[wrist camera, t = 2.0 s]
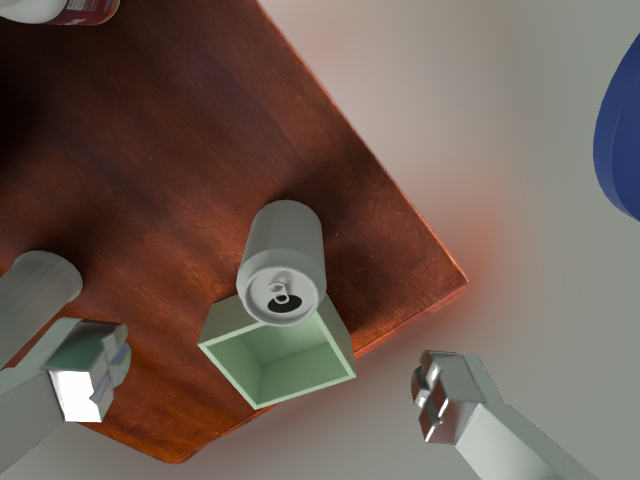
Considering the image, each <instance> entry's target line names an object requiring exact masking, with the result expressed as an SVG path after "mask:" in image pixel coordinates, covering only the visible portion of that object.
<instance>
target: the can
mask: <svg viewBox="0 0 640 480" xmlns="http://www.w3.org/2000/svg"><path fill="white" fill-rule="evenodd" d="M236 286H237V290H238V294H239V297H240V298H241V300H242V302H243V306H244V307H245V309H246V310H247V312H248V313H249V314H250V315H251V316H252V317H253V318H255V319H256V320H257V321H259V322H262V323H264V324H267V325H270V326H277V327H285V326H293V325H296V324H299V323H302V322H303V321H305V320H306V319H308V318H309V317H311V316H312V314H313V313H314V312H315V310H316V309H317V307H318V306H319V304H320V303H321V302H322V300H323V299H324V296H325V292H326V289H327V285H326V273H325V261H324V250H323V238H322V227H321V223H320V221H319V218H318V216H317V215H316V214H315V213H314V212H313V211H312V210H311V209H310V208H309V207H308V206H306V205H304V204H302V203H300V202H297V201H292V200H280V201H275V202H272V203H270V204H268V205H265V206H264V207H263V208H262V209H261V210H260V211H259V212H258V213H257V214H256V216H255V218H254V220H253V222H252V226H251V229H250V233H249V236H248V240H247V243H246V247H245V250H244V254H243V257H242V261H241V264H240V268H239V271H238V276H237V283H236Z"/></svg>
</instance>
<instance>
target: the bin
mask: <svg viewBox="0 0 640 480" xmlns="http://www.w3.org/2000/svg"><path fill="white" fill-rule="evenodd" d="M198 346H199V347H200V348H201V349H202V351H203V352H204V353H205V354H206V355H207V356H208V357H209V358H210V360H211V361H212V362H213V363H214V364H215V365H216V366H217V367H218V369H219V370H220V371H221V372H222V373H223V374H224V375H225V376H226V378H227V379H228V380H229V381H230V382H231V383H232V384H233V385H234V387H235V388H236V389H237V390H238V391H239V392H240V393H241V394H242V396H243V397H244V398H245V399H246V400H247V401H248V402H249V403H250V405H251V406H252V407H253V408H254V409H255V410H256V409H259V408H262V407H265V406H269V405H272V404H275V403H278V402H281V401H284V400H287V399H290V398H293V397H296V396H300V395H302V394H306V393H309V392H312V391H315V390H318V389H321V388H324V387H327V386H331V385H334V384H337V383H340V382H343V381H346V380H349V379H351V378H355V377H356V370H355V364H354V356H353V349H352V343H351V336H350V334H349V332H348V330H347V328H346V327H345V325H344V323H343V321H342V319H341V318H340V316H339V314H338V312H337V311H336V309H335V307H334V305H333V303H332V302H331V300H330V298H329V296H328V294H327V293H326V292H325V296H324V299H323V300H322V302H321V303H320V304H319V306H318V307H317V309H316V310H315V312H314V313H313V314H312V316H311V317H309V318H308V319H306V320H305V321H303V322H302V323H299V324H296V325H293V326H285V327H277V326H270V325H267V324H264V323H262V322H259V321H257V320H256V319H255V318H253V317H252V316H251V315H250V314H249V313H248V312H247V310H246V309H245V307H244V306H243V302H242V300H241V298H240V297H239V294H236V295H234V296H231V297H229V298H226V299H224V300H221V301H218V302H216V303H213V304H212V305H211V308H210V310H209V313H208V316H207V319H206V322H205V325H204V328H203V330H202V333H201V336H200V339H199V342H198Z"/></svg>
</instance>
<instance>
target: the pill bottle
mask: <svg viewBox="0 0 640 480" xmlns="http://www.w3.org/2000/svg"><path fill="white" fill-rule="evenodd" d="M119 4H120V0H0V16H2V17H4V18H7V19H10V20H13V21H17V22H22V23H32V24H57V25H97V24H101V23H104V22H106V21H107V20H109V19H110V18H111V17H112V16H113V15H114V14H115V13H116V11H117V9H118V7H119Z"/></svg>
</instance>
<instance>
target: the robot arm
mask: <svg viewBox="0 0 640 480" xmlns="http://www.w3.org/2000/svg"><path fill="white" fill-rule="evenodd" d="M127 336H128V329H127V325H126V324H123V323H115V322H106V321H98V320H89V319H77V318H68V317H62V318H60V319H58V320H57V321H56V322H55V323H54V324H53V325H52V326H51V327H50V328H49V330H48V331H47V332H46V333H45V334H44V335H43V336H42V337H41V339H40V340H39V341H38V342H37V343H36V344H35V345H34V347H33V348H32V349H31V350H30V351H29V352H28V353H27V354H26V356H25V357H24V358H23V359H22V360H21V361H20V362H19V364H18V365H17V366H16V367H15V368H6V369H4V370H2V371H0V474H1V473H2V472H4V471H5V470H6V469H7V468H9V467H10V466H11V465H12V464H14V463H15V462H16V461H17V460H18V459H20V458H21V457H22V456H23V455H25V454H26V453H27V452H28V451H30V450H31V449H32V448H33V447H35V446H36V445H37V444H38V443H40V442H41V441H42V440H43V439H45V438H46V437H47V436H48V435H49V434H51V433H52V432H53V431H55V430H56V429H57V428H58V427H60V426H61V425H62V424H63V423H64V421H84V422H102V420H103V418H104V416H105V414H106V412H107V410H108V409H109V407H110V405H111V403H112V401H113V399H114V393H113V389H114V388H115V387H117V386H118V385H119V384H121V383H122V382H123V380H124V378H125V376H126V374H127V372H128V369H129V366H130V362H131V347H130V345H129V344H128V343H127V342H125V339H126V337H127ZM419 360H420V363H421V366H420V367H418V368H417V369H416V370H415V371H414V373H413V376H412V380H411V393H412V398H413V402H414V404H415V405H416V406H417V407H418V408H419V409H420V410H421V411H422V412H421V414H420V416H419V422H420V426H421V429H422V433H423V436H424V439H425V442H430V443H441V444H452V445H456V446H455V447H456V448H457V450H458V451H459V452H460V453H461V454H462V456H463V457H464V458H465V459H466V460H467V462H468V463H469V464H470V466H471V467H472V468H473V469H474V471H475V472H476V473H477V474H478V476H479V477H480V478H481V479H482V480H599V479H598V478H597V477H596V476H595V475H593V474H592V473H591V472H590V471H588V470H587V469H586V468H585V467H584V466H583V465H581V464H580V463H579V462H578V461H576V459H574V458H573V457H572V456H571V455H570V454H568V453H567V452H566V451H564V449H562V448H561V447H560V446H559V445H558V444H556V443H555V442H554V441H553V440H552V439H550V438H549V437H548V436H547V435H546V434H544V433H543V432H542V431H541V430H540V429H538V428H537V427H536V426H535V425H534V424H532V423H531V422H530V421H529V420H528V419H526V418H525V417H524V416H523V415H522V414H520V413H519V412H518V411H517V410H516V409H514V408H513V407H512V406H511V405H505V403H504V402H503V399H502V398H501V396H500V394H499V392H498V390H497V388H496V387H495V385H494V383H493V381H492V379H491V377H490V375H489V374H488V372H487V370H486V368H485V366H484V364H483V363H482V361H481V359H480V357H479V356H477V355H476V354H467V353H454V352H442V351H430V350H429V351H428V350H425V351H424V352H423V353H422V354H421V356H420V359H419Z"/></svg>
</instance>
